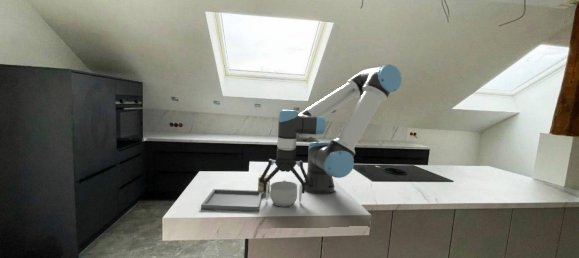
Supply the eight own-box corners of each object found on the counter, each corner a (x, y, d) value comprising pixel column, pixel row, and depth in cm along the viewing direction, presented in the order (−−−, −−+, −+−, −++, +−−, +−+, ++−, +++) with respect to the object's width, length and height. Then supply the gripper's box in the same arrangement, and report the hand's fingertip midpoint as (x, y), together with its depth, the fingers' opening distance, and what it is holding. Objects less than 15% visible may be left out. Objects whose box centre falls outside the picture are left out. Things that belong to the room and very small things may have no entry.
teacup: (293, 210, 99) (294, 190, 98) (266, 207, 101) (267, 187, 100) (299, 198, 113) (300, 180, 112) (275, 195, 115) (276, 177, 114)
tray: (261, 194, 114) (262, 190, 114) (258, 211, 97) (258, 206, 96) (213, 193, 114) (213, 189, 113) (200, 209, 96) (201, 204, 96)
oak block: (269, 189, 122) (270, 175, 121) (269, 193, 117) (269, 178, 116) (258, 189, 122) (259, 174, 121) (257, 192, 117) (258, 177, 116)
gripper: (316, 148, 109) (312, 197, 111) (256, 145, 108) (253, 195, 110) (318, 151, 102) (315, 204, 103) (254, 148, 101) (251, 201, 102)
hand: (283, 199), depth 107 cm, fingers open, 13 cm apart
